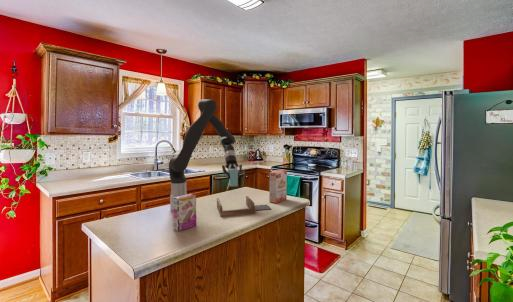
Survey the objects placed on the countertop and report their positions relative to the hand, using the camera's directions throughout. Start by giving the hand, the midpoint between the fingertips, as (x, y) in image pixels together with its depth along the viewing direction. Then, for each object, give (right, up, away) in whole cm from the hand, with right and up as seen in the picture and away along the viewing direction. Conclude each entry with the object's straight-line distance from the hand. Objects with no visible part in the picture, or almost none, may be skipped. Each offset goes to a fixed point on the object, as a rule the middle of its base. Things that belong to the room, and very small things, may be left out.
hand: (233, 178), depth 174 cm
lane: (+1, -19, -9) cm, 21 cm away
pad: (+18, -18, -5) cm, 26 cm away
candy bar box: (-21, -21, -38) cm, 49 cm away
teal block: (0, -5, +2) cm, 6 cm away
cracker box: (+30, -17, +12) cm, 36 cm away
